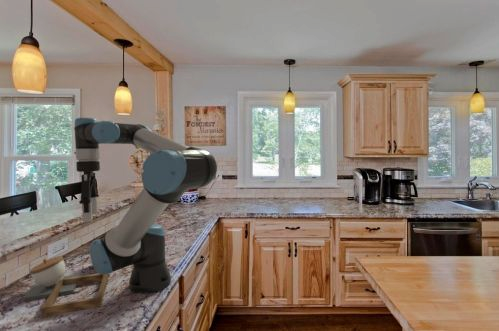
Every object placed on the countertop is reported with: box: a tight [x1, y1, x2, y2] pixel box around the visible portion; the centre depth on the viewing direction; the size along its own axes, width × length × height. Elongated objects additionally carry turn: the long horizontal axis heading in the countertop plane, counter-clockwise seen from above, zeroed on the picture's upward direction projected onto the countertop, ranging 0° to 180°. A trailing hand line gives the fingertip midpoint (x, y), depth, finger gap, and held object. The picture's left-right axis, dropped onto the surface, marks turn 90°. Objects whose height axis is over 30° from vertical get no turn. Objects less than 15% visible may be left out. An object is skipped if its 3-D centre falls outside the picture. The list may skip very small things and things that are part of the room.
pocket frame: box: [40, 273, 109, 318], centre depth 103 cm, size 16×22×3 cm
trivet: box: [22, 273, 82, 302], centre depth 110 cm, size 15×15×1 cm
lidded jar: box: [29, 255, 67, 287], centre depth 110 cm, size 11×11×9 cm
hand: (90, 217), depth 108 cm, fingers open, 13 cm apart
